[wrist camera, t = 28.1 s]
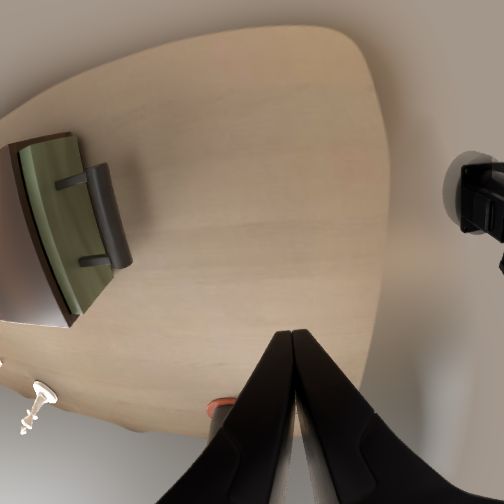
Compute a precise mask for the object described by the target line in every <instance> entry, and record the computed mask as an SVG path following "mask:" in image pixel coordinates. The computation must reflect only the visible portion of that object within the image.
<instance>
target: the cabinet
mask: <svg viewBox="0 0 504 504" xmlns="http://www.w3.org/2000/svg"><path fill="white" fill-rule="evenodd" d="M70 136H71V133H70V132H65V133H58V134H53V135H47V136H42V137H38V138H33V139H28V140H24V141H20V142H16V143H12V144H8V145H6V146H5V147H3V148H2V149H0V321H6V322H14V323H22V324H31V325H41V326H51V327H63V328H70V327H71V326H72V324H73V323H74V322H75V321H76V319H77V318H78V317H79V316H80V314H72V312H71V310H70V308H69V306H68V304H67V302H66V300H65V299H64V300H63V299H62V296H61V294H60V292H59V290H58V287H57V285H56V283H55V280H54V278H53V276H52V273H51V271H50V268H49V266H48V263H47V261H46V258H45V255H44V252H43V250H42V247H41V244H40V241H39V238H38V235H37V232H36V229H35V226H34V223H33V219H32V216H31V213H30V209H29V205H28V202H27V198H26V194H25V190H24V186H23V181H22V177H21V172H20V167H19V162H21V159H20V153H19V151H20V150H22V149H23V148H25V147H27V146H29V145H33V144H37V143H41V142H45V141H50V140H55V139H59V138H64V137H70Z"/></svg>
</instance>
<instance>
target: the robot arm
mask: <svg viewBox="0 0 504 504" xmlns="http://www.w3.org/2000/svg"><path fill="white" fill-rule="evenodd" d="M466 169H467V171H466V173H465V170H466ZM465 226H466V228H465ZM464 228H465V229H464ZM460 230H461V231H462V232H463V233H470V232H474V231H478V230H482V231H484V232H485V233H488V234H489V235H491V236H492V237H494V238H495V239H496V240H498V241H499V242H500V243H504V162H490V163H477V164H466V165H463V166H462V167H461V222H460ZM499 268H500V270H501V271H502V273H503V274H504V253H503V257H502V260H501V261H500V264H499ZM295 395H296V399H295ZM296 406H297V412H298V417H299V422H300V428H301V433H302V438H303V443H304V448H305V453H306V458H307V463H308V468H309V474H310V479H311V485H312V490H313V495H314V501H315V504H504V501H503V500H497V499H492V498H488V497H483V496H479V495H475V494H471V493H468V492H466V491H463V490H461V489H459V488H457V487H455V486H454V485H452V484H451V483H450V482H448V481H447V480H445V479H444V478H443V477H442V476H441V475H440V474H438V473H437V472H436V471H435V470H434V469H432V467H430V466H429V465H428V464H427V463H426V462H424V461H423V460H422V459H421V458H420V457H419V456H418V455H417V454H415V453H414V452H413V451H412V450H411V449H410V448H409V447H408V446H407V445H406V444H405V443H403V441H401V440H400V439H399V438H398V437H397V436H396V435H395V433H394V432H393V431H392V430H391V429H390V428H389V427H388V426H387V424H386V423H385V422H384V421H383V420H382V419H381V417H380V416H379V415H378V414H377V413H374V412H375V411H374V409H373V408H372V407H371V406H370V405H369V403H368V402H367V401H366V400H365V399H364V397H363V396H362V395H361V394H360V392H359V391H358V390H357V389H356V388H355V386H354V385H353V384H352V383H351V382H350V380H349V379H348V378H347V377H346V376H345V374H344V373H343V372H342V371H341V369H340V368H339V367H338V366H337V365H336V363H335V362H334V361H333V360H332V359H331V357H330V356H329V355H328V354H327V353H326V351H325V350H324V349H323V348H322V346H321V345H320V344H319V343H318V342H317V340H316V339H315V338H314V337H313V336H312V334H311V333H310V332H309V331H308V330H307V329H298V330H293V331H292V333H291V331H289V330H287V331H277V332H276V333H275V334H274V336H273V338H272V339H271V341H270V343H269V345H268V347H267V348H266V350H265V352H264V354H263V355H262V357H261V359H260V361H259V362H258V364H257V366H256V368H255V369H254V371H253V373H252V375H251V376H250V378H249V380H248V381H247V383H246V385H245V386H244V388H243V390H242V391H241V393H240V395H239V396H238V398H237V400H236V401H235V403H234V405H233V406H232V408H231V409H230V411H229V413H228V414H227V416H226V418H225V419H224V421H223V422H222V426H220V427H219V428H218V430H217V431H216V433H215V435H214V436H213V438H212V439H211V441H210V442H209V443H208V445H207V446H206V448H205V449H204V450H203V452H202V453H201V455H200V456H199V457H198V458H197V459H196V461H195V462H194V463H193V464H192V465H191V467H190V468H189V469H188V470H187V471H186V472H185V473H184V474H183V475H182V476H181V477H180V479H179V480H178V481H177V482H176V483H175V484H174V485H173V486H172V487H171V488H170V489H169V490H168V491H167V492H166V493H165V494H164V495H163V496H162V497H161V498H160V499H159V500H158V501H157V502H156V503H155V504H285V498H286V491H287V483H288V476H289V466H290V459H291V450H292V441H293V432H294V421H295V408H296Z"/></svg>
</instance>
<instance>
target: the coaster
mask: <svg viewBox="0 0 504 504" xmlns="http://www.w3.org/2000/svg"><path fill="white" fill-rule="evenodd" d="M236 400H237V399H233V398H223V399H217V400H214V401H212V402H211V403H210V404H209V405H208V407H207V414H208V415H209V417H210V418H211V419H212V414H213V410H214V409H215V408H216V407H217V406H220V405H224V404H233V405H234V403H235V401H236Z"/></svg>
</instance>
